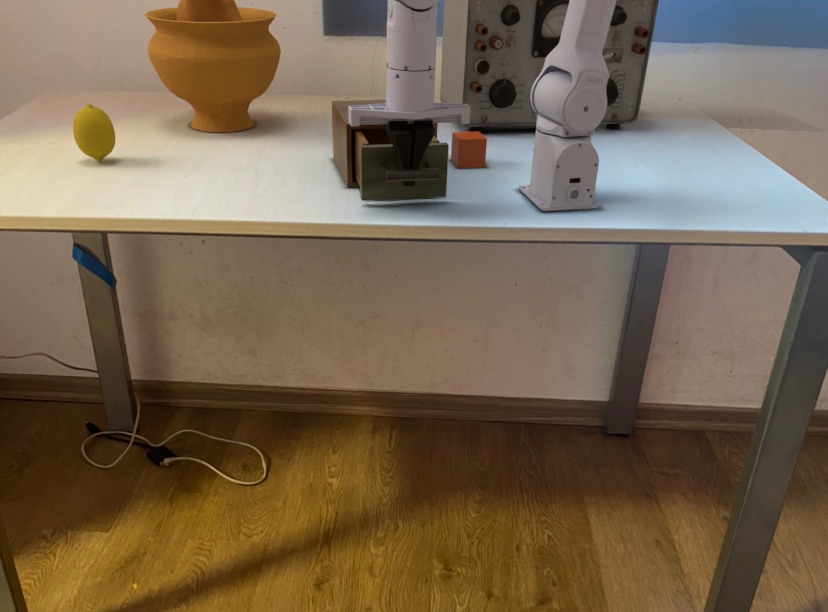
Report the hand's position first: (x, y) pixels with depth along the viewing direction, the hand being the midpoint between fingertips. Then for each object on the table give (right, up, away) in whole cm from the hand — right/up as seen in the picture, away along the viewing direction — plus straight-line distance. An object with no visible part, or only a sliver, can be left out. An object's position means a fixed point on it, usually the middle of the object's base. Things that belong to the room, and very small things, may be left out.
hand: (407, 183), depth 99 cm
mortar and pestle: (-32, +20, +36) cm, 52 cm away
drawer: (-1, +1, +6) cm, 7 cm away
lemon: (-45, +8, +16) cm, 49 cm away
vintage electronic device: (+23, +23, +43) cm, 54 cm away
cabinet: (-4, +6, +16) cm, 18 cm away
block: (+9, +9, +20) cm, 24 cm away
